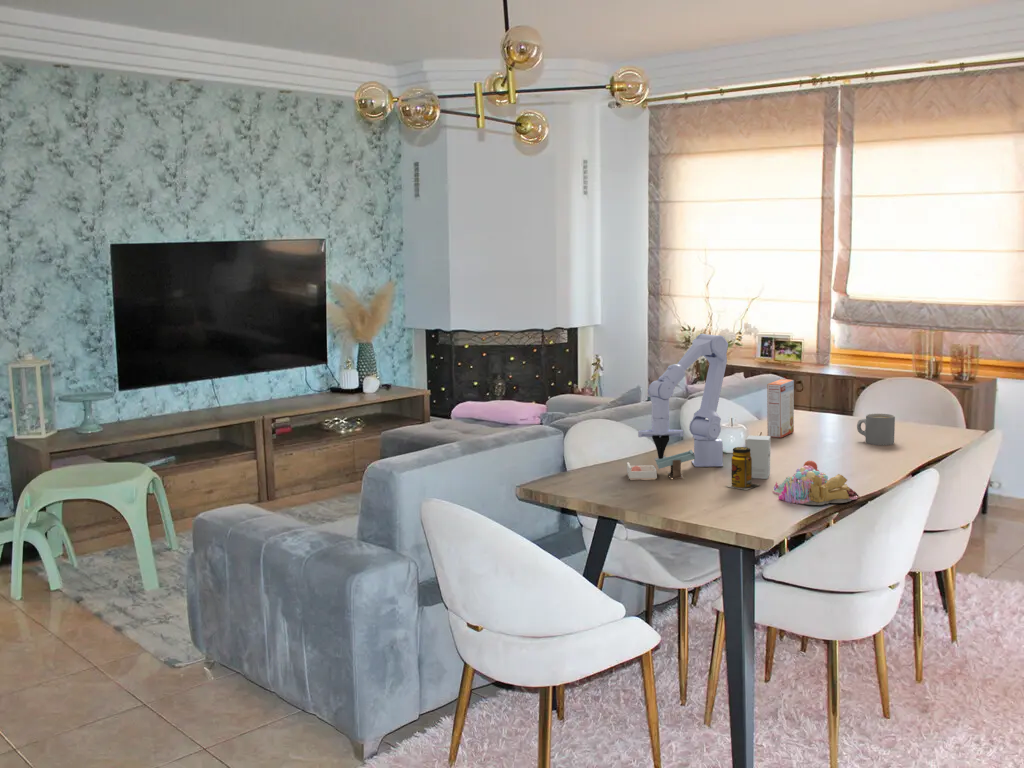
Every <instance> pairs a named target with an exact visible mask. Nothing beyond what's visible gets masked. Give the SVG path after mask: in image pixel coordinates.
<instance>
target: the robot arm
mask: <svg viewBox="0 0 1024 768" xmlns="http://www.w3.org/2000/svg"><path fill="white" fill-rule="evenodd" d="M728 347H729V343H728V341H727V340H726V337H724V336H723V335H721V334H718V335H717V334H709V333H707V334H705V333H700V334H698V335H697V336H696V337H695V338H694V339H693V340H692V343H691V346H690V347H689V348H688V349H687V351H686V352H685V353H684V354H683V356H682V357H681V358H680V360H679V361H678V362H677V363H673V364H670V365H668V366H667V369H666V370H665V371H664V372H663V373H662V375H660V376H659V377H658V379H657V380H653V381H652V382H651V383H650V384H649V385H648V389H647V394H648V396H649V398H650V402H651V429H642V430H637V436H638V438H648V437H651V438H652V441H653V443H654V445H655V448H656V451H657V458H659V459H662V458H663V456H665V450H666V448H667V445H668V443H669V441H670V437H684V430H683V429H670V398H671V397H672V396H673V394H674V390H675V389H676V387H677V386H678V384H679V383H680V382H681V381H682V380H683V379H684V378H685V376H686V371H687V369H689V368H690V367H691V366H692V365H693V364H694V363H695V362H696V361H697V360H698V359H699V358H700V357H704V358H705V359H706V360H707V362H708V363H709V364H708V365H709V366H708V369H707V373H706V379H705V384H704V387H703V388H704V389H703V393H702V397H701V403H700V407H699V409H698V410H696V411H695V412H694V413H693V416H692V419H691V421H690V423H689V426H688V428H689V432H690V434H691V435H692V438H693V453H694V456H695V459H693V460H691V463H692V465H693V466H694V467H695V468H697V467H699V468H700V467H703V468H705V467H723V466H724V464H723V462H724V458H723V457H724V456H723V455H724V454H723V453H724V451H723V450H724V447H723V446H724V445H723V440H722V438H718V437H719V436H720V433H721V429H722V428H721V421H722V418H721V417H720V416H719V413H718V412H717V411H718V407H719V406H718V405H719V401H720V397H721V392H722V388H723V382H724V378H725V372H726V367H727V364H728V363H727V362H728V357H727V352H728Z"/></svg>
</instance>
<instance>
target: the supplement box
mask: <svg viewBox="0 0 1024 768" xmlns="http://www.w3.org/2000/svg"><path fill="white" fill-rule="evenodd" d="M771 438H772V437H771V436H767V435H747V437H746V438H745V439H744V440H745V446H744V447H747V448H750V450H751V451H750V453H751V455H750V456H751V458H752V479H759V480H761V479H762V480H768V479H769V476H770V474H771Z"/></svg>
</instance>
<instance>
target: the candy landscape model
mask: <svg viewBox="0 0 1024 768" xmlns="http://www.w3.org/2000/svg"><path fill="white" fill-rule="evenodd" d="M847 482H848V479H847V478H846V477H845V476H844V475H843V474H840V473H838V474H837V475H835V476H832V477H830V478H829V477H828V475H827V474H826V473H825V472H820V470H819V469H818V464H817V463H816V462H815V461H813V460H807V461H805V462H804V464H803V466H801V467H800V468H799V467H798V468H797V469H796V470H795V473H793V475H792V476H785V479H784V480H783V481H782V483H780V484H778V482H777V481H775V485H774V487H773V489H772V493H773V494H774V495H778V500H780V501H783V502H786V503H787V504H789V503H790V504H791V503H792V504H801V505H809V506H810V505H811V506H824V505H825V504H826V505H828V504H830V503H831V504H843V503H848V502H851V501H854V500H858V498H859V497H860V496H859V494H858V493H857V492H856V491H855V490H853V489H852V488H850V486H848V485H847Z"/></svg>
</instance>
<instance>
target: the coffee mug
mask: <svg viewBox="0 0 1024 768" xmlns="http://www.w3.org/2000/svg"><path fill="white" fill-rule="evenodd" d="M863 423H864V425H865V426H864V427H865V428H864V430H863V429H862V424H863ZM895 427H896V416H895V415H894V414H889V413H869V414H866V415H865V418H860V419H859V420H858V421H857V424H856V429H857V432H858V433H859V434H860V435H862V436H864V439H865V440H864V441H865V442H864V443H866V444H869V445H872V446H873V445H875V446H892V445H894V444H895V431H896V430H895Z"/></svg>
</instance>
